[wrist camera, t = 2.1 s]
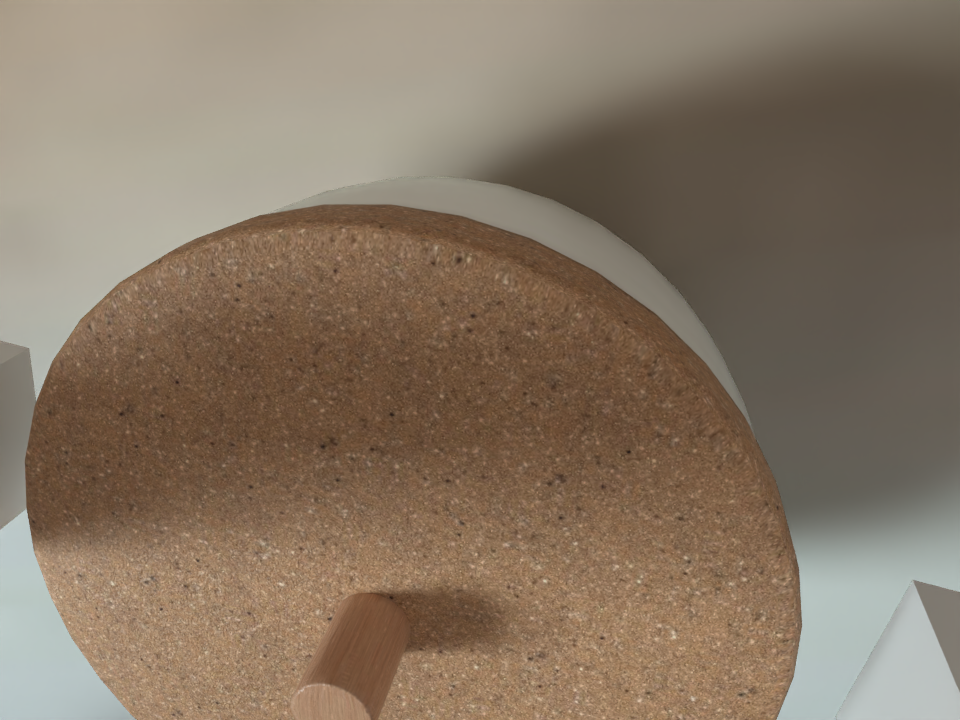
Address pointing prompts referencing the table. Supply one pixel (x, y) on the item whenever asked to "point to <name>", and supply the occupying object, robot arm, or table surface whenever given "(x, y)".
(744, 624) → the lidded jar
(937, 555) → the table surface
